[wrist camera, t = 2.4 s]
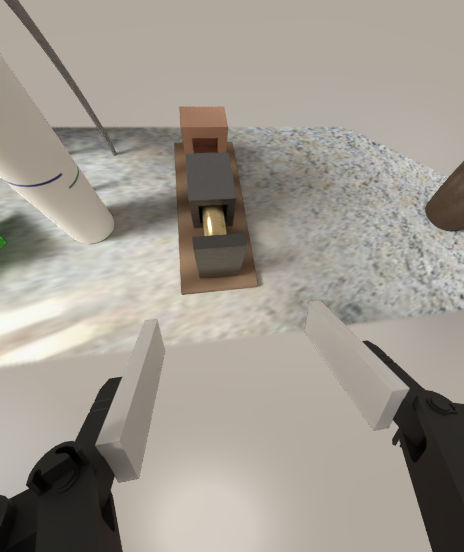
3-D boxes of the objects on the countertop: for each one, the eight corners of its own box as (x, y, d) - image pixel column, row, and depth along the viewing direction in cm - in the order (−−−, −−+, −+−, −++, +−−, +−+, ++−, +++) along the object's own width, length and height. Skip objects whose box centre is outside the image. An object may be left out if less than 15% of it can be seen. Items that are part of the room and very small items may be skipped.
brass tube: (238, 274, 31) (247, 245, 22) (199, 278, 30) (193, 249, 21) (224, 177, 37) (226, 124, 28) (191, 178, 37) (184, 124, 28)
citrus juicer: (52, 153, 38) (-384, -380, 10) (102, 135, 41) (-130, -322, 13) (80, 194, 36) (-383, -346, 8) (131, 172, 39) (-76, -285, 11)
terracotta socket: (225, 165, 40) (227, 126, 33) (187, 167, 39) (180, 127, 32) (222, 147, 41) (224, 106, 34) (185, 148, 40) (179, 106, 33)
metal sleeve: (232, 225, 35) (236, 198, 29) (193, 228, 34) (188, 200, 28) (226, 185, 38) (228, 152, 32) (190, 187, 37) (185, 153, 31)
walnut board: (256, 287, 33) (257, 285, 32) (182, 294, 31) (181, 293, 30) (231, 146, 43) (232, 141, 42) (175, 147, 42) (174, 142, 41)
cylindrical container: (58, 225, 33) (-290, -65, 10) (94, 200, 35) (-112, -80, 12) (88, 251, 32) (-207, 7, 9) (123, 224, 35) (-37, -24, 11)
